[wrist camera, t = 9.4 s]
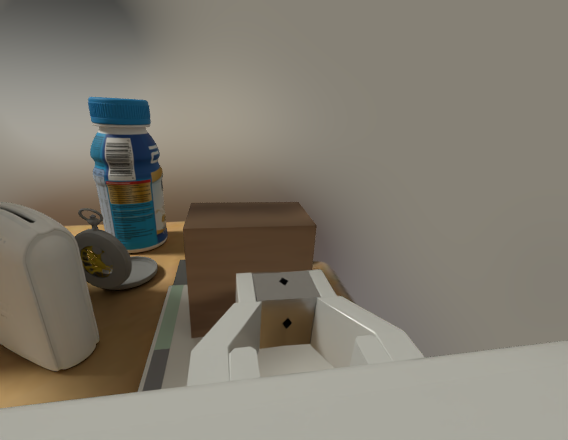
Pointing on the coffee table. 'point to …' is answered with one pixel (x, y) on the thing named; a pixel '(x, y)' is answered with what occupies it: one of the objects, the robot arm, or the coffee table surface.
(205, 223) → the walnut block
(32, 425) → the robot arm
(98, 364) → the coffee table surface
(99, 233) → the pocket watch
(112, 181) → the beverage bottle
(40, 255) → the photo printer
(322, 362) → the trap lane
